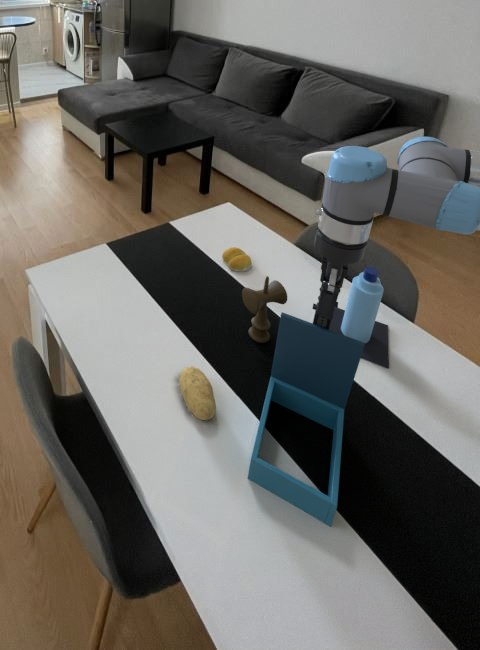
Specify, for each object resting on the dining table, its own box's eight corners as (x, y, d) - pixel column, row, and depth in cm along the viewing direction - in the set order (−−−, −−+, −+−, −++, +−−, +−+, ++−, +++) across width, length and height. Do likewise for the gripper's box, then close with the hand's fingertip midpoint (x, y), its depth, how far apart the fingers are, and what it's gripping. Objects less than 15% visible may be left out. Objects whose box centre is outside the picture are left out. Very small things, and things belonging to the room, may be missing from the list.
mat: (387, 326, 112) (388, 325, 112) (388, 368, 101) (389, 367, 101) (327, 305, 119) (327, 304, 119) (321, 342, 108) (322, 341, 108)
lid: (364, 346, 76) (364, 342, 77) (280, 314, 83) (281, 311, 84) (344, 409, 85) (344, 405, 86) (270, 376, 92) (271, 373, 93)
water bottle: (370, 329, 111) (387, 267, 103) (369, 347, 106) (388, 284, 98) (341, 319, 114) (356, 258, 106) (340, 336, 109) (355, 274, 102)
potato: (202, 377, 101) (203, 358, 99) (222, 425, 91) (224, 406, 89) (174, 381, 101) (175, 362, 98) (191, 430, 91) (193, 411, 88)
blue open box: (329, 533, 74) (337, 506, 71) (246, 484, 81) (250, 458, 78) (337, 434, 88) (344, 409, 86) (266, 400, 96) (270, 376, 93)
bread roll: (235, 276, 131) (236, 265, 130) (217, 257, 139) (218, 247, 138) (257, 268, 134) (259, 258, 132) (238, 251, 141) (240, 241, 140)
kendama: (235, 332, 113) (242, 272, 105) (266, 322, 115) (275, 263, 107) (250, 351, 107) (258, 290, 100) (282, 340, 110) (293, 280, 102)
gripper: (321, 207, 80) (302, 302, 89) (312, 247, 70) (292, 349, 79) (368, 219, 76) (344, 317, 85) (366, 263, 66) (338, 369, 75)
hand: (319, 332), depth 82 cm, fingers closed
